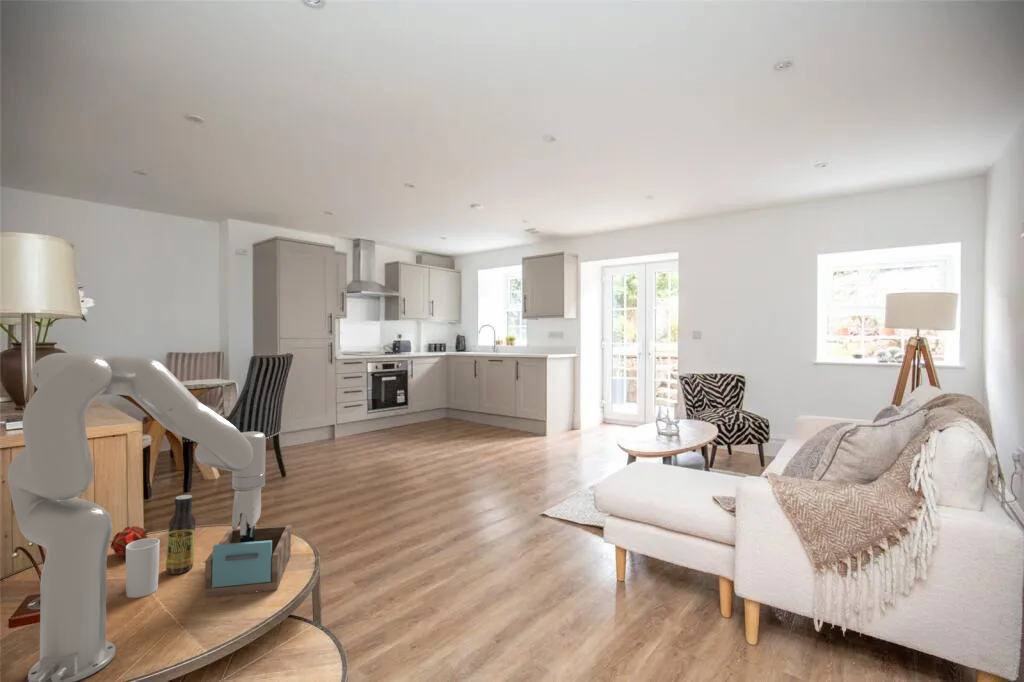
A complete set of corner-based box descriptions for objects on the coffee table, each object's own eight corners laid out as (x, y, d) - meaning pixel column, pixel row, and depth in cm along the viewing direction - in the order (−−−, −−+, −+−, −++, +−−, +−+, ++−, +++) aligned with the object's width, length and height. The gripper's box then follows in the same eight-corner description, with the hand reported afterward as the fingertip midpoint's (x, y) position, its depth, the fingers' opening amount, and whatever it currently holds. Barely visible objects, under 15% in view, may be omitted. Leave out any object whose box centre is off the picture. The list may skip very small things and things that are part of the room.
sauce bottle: (163, 577, 131) (164, 502, 130) (168, 567, 136) (169, 494, 136) (192, 573, 133) (193, 499, 133) (196, 563, 139) (197, 492, 139)
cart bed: (277, 590, 125) (277, 554, 125) (204, 597, 121) (205, 560, 121) (290, 555, 145) (291, 524, 145) (228, 561, 140) (229, 529, 140)
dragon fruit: (136, 551, 149) (130, 573, 139) (106, 540, 145) (98, 562, 135) (156, 526, 151) (152, 547, 141) (128, 514, 147) (122, 535, 136)
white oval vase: (155, 595, 121) (155, 547, 121) (121, 601, 119) (121, 551, 119) (164, 577, 131) (165, 531, 131) (133, 581, 128) (134, 535, 128)
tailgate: (269, 583, 124) (270, 543, 124) (211, 589, 121) (211, 548, 121) (271, 579, 126) (272, 540, 126) (213, 585, 123) (214, 544, 123)
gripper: (240, 473, 135) (239, 540, 135) (224, 490, 120) (222, 565, 120) (270, 472, 137) (269, 538, 137) (258, 488, 122) (256, 562, 122)
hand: (247, 551), depth 129 cm, fingers closed
